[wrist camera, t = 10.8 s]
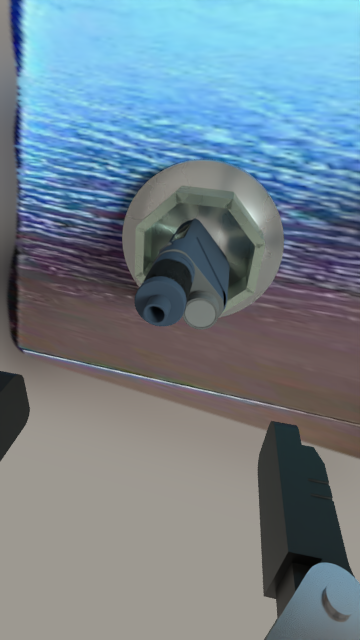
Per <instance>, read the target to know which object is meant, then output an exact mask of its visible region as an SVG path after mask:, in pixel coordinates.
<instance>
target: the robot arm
mask: <svg viewBox="0 0 360 640" xmlns="http://www.w3.org/2000/svg"><path fill="white" fill-rule="evenodd" d="M29 412H30V407H29V402H28V398H27V392H26V387H25V383H24V378H23V377H22V375H19V374H13V373H8V372H3V371H0V461H1V460H2V458H3V457H4V455H5V454H6V452H7V451H8V449H9V448H10V447H11V445H12V444H13V442H14V441H15V439H16V438H17V436H18V435H19V434H20V432H21V430H22V429H23V428H24V426H25V425H26V423H27V420H28V417H29ZM258 487H259V506H260V507H259V508H260V527H261V549H262V568H263V589H264V596H266V597H270V598H274V599H276V603H277V616H278V618H277V620H276V621H275V623H274V625H273V626H272V628H271V629H270V631H269V633H268V634H267V636H266V637H265V639H264V640H360V584H359V582H358V581H357V580H356V579H355V577H354V575H353V573H352V571H351V569H350V566H349V563H348V559H347V555H346V552H345V547H344V543H343V539H342V535H341V530H340V526H339V522H338V518H337V514H336V510H335V506H334V502H333V501H332V493H331V489H330V486H329V481H328V477H327V473H326V468H325V464H324V463H323V461H322V460H321V458H320V457H319V455H318V453H317V452H316V450H315V449H314V447H310V446H304V445H301V440H300V434H299V429H298V427H297V426H296V425H291V424H285V423H280V422H274V421H271V423H270V425H269V427H268V430H267V433H266V436H265V440H264V442H263V445H262V448H261V451H260V454H259V460H258Z"/></svg>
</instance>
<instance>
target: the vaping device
mask: <svg viewBox="0 0 360 640" xmlns="http://www.w3.org/2000/svg"><path fill="white" fill-rule="evenodd" d="M229 270H230V267H229V262H228V261H227V257H226V256H225V254H224V253H223V251H222V250H221V249H220V247H219V246H218V245H217V243H216V242H215V241H214V239H213V238H212V237H211V235H210V234H209V233H208V231H207V230H206V228H205V227H204V226H203V224H202V223H201V222H200V221H199V220H198V219H196V218H194V219H193V220H189V221H186V222H184V223H183V224H182V225H180V226H179V227H178V229H177V230H176V232H175V234H173V236H172V237H171V239H170V241H169V242H168V243H167V244H166V245H164V246H163V247H162V248H161V249H160V250H159V254H158V256H157V257H156V258H155V260H154V262H153V264H152V268H151V269H150V271H149V272H148V274H147V276H146V277H145V279H144V282H142V284H141V286H140V287H139V289H138V291H137V293H136V295H135V307H136V310H137V312H138V313H139V315H140V316H141V317H142V318H143V319H144V320H145V321H147V322H148V323H150V324H153V325H156V326H169V325H172V324H174V323H176V322H177V321H179V320H180V318H181V317H182V316H183V318H184V320H185V322H186V323H187V324H188V325H189V326H191V327H193V328H195V329H207V328H209V327H211V326H213V325H214V324H215V323H216V321H217V319H218V317H219V316H220V315H221V314H222V312H223V311H224V309H225V308H226V304H227V297H228V283H229Z"/></svg>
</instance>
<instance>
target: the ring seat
mask: <svg viewBox="0 0 360 640" xmlns="http://www.w3.org/2000/svg"><path fill="white" fill-rule="evenodd" d="M194 218H196V219H198V220H199V221H200V222H201V223H202V224H203V226H204V227H205V228H206V230H207V231H208V233H209V234H210V235H211V237H212V238H213V239H214V241H215V242H216V243H217V245H218V246H219V247H220V249H221V250H222V251H223V253H224V254H225V256H226V257H227V261H228V262H229V267H230V270H229V283H228V297H227V304H226V308H225V309H224V311H223V312H222V314H221V315H220V316H219V317H223V316H227V315H230V314H233V313H235V312H238V311H240V310H242V309H244V308H246V307H247V306H249V305H250V304H252V303H253V302H254V301H256V300H257V299H258V298H259V297H260V296H261V295H262V294H263V293H264V292H265V291H266V289H267V288H268V287H269V286H270V284H271V283H272V281H273V279H274V278H275V275H276V273H277V271H278V269H279V266H280V263H281V260H282V254H283V247H284V235H283V227H282V223H281V219H280V216H279V213H278V211H277V208H276V206H275V203H274V201H273V200H272V198H271V196H270V194H269V193H268V192H267V190H266V189H265V188H264V187H263V185H262V184H261V183H260V182H259V181H258V180H257V179H256V178H255V177H253V176H252V175H251V174H249V173H248V172H246V171H245V170H243V169H241V168H239V167H237V166H235V165H233V164H230V163H227V162H224V161H219V160H214V159H194V160H188V161H184V162H180V163H177V164H175V165H172V166H170V167H168V168H166V169H164V170H163V171H161V172H159V173H158V174H156V175H155V176H154V177H152V178H151V179H150V180H149V181H147V182H146V183H145V184H144V185H143V187H142V188H141V189H140V190H139V191H138V193H137V194H136V195H135V197H134V198H133V200H132V202H131V204H130V206H129V208H128V211H127V214H126V216H125V220H124V225H123V234H122V243H123V252H124V257H125V260H126V263H127V266H128V269H129V271H130V273H131V275H132V277H133V279H134V280H135V282H136V283H137V285H138V286H139V287H140V286H141V284H142V282H144V279H145V277H146V276H147V274H148V272H149V271H150V269H151V268H152V264H153V262H154V260H155V258H156V257H157V256H158V254H159V250H160V249H161V248H162V247H163V246H164V245H166V244H167V243H168V242H169V241H170V239H171V237H172V236H173V234H175V232H176V230H177V229H178V227H179V226H180V225H182V224H183V223H184V222H186V221H189V220H193V219H194Z"/></svg>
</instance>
